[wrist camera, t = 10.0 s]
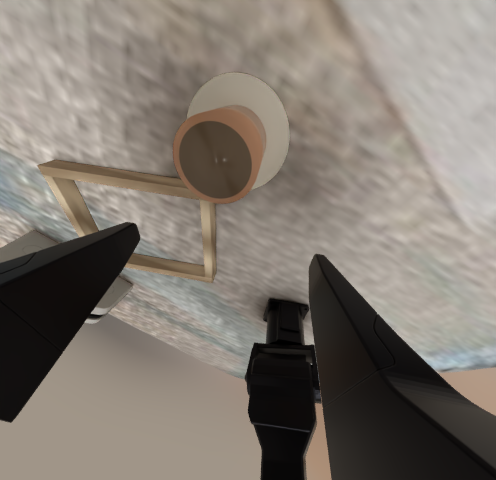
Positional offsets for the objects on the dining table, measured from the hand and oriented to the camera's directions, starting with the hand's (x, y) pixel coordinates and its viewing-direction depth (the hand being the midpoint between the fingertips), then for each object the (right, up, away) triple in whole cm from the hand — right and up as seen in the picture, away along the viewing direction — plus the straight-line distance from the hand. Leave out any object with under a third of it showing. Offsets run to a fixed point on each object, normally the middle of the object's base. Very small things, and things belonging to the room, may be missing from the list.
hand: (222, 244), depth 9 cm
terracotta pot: (0, +9, +7) cm, 11 cm away
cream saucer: (0, +9, +8) cm, 12 cm away
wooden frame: (-12, +2, +15) cm, 19 cm away
